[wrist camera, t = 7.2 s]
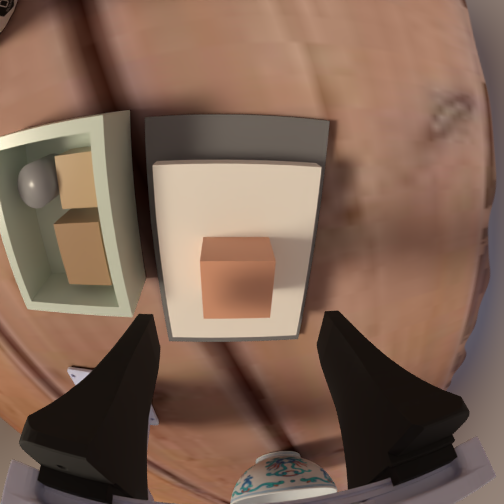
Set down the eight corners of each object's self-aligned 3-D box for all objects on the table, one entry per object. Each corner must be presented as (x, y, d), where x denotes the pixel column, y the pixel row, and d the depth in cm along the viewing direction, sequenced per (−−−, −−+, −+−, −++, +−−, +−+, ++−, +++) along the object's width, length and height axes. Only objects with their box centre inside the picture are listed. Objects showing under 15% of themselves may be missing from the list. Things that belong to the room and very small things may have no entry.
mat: (296, 334, 23) (297, 338, 23) (170, 336, 22) (169, 340, 22) (326, 120, 15) (329, 121, 15) (147, 116, 14) (144, 117, 14)
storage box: (146, 278, 19) (132, 317, 16) (51, 276, 19) (27, 308, 15) (129, 109, 14) (102, 114, 11) (21, 129, 13) (-17, 142, 10)
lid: (291, 317, 22) (303, 362, 18) (175, 319, 21) (168, 364, 17) (312, 159, 16) (338, 180, 12) (159, 158, 15) (139, 178, 12)
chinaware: (346, 439, 36) (359, 483, 29) (293, 473, 42) (299, 509, 35) (255, 434, 32) (261, 489, 25) (213, 468, 38) (215, 510, 31)
